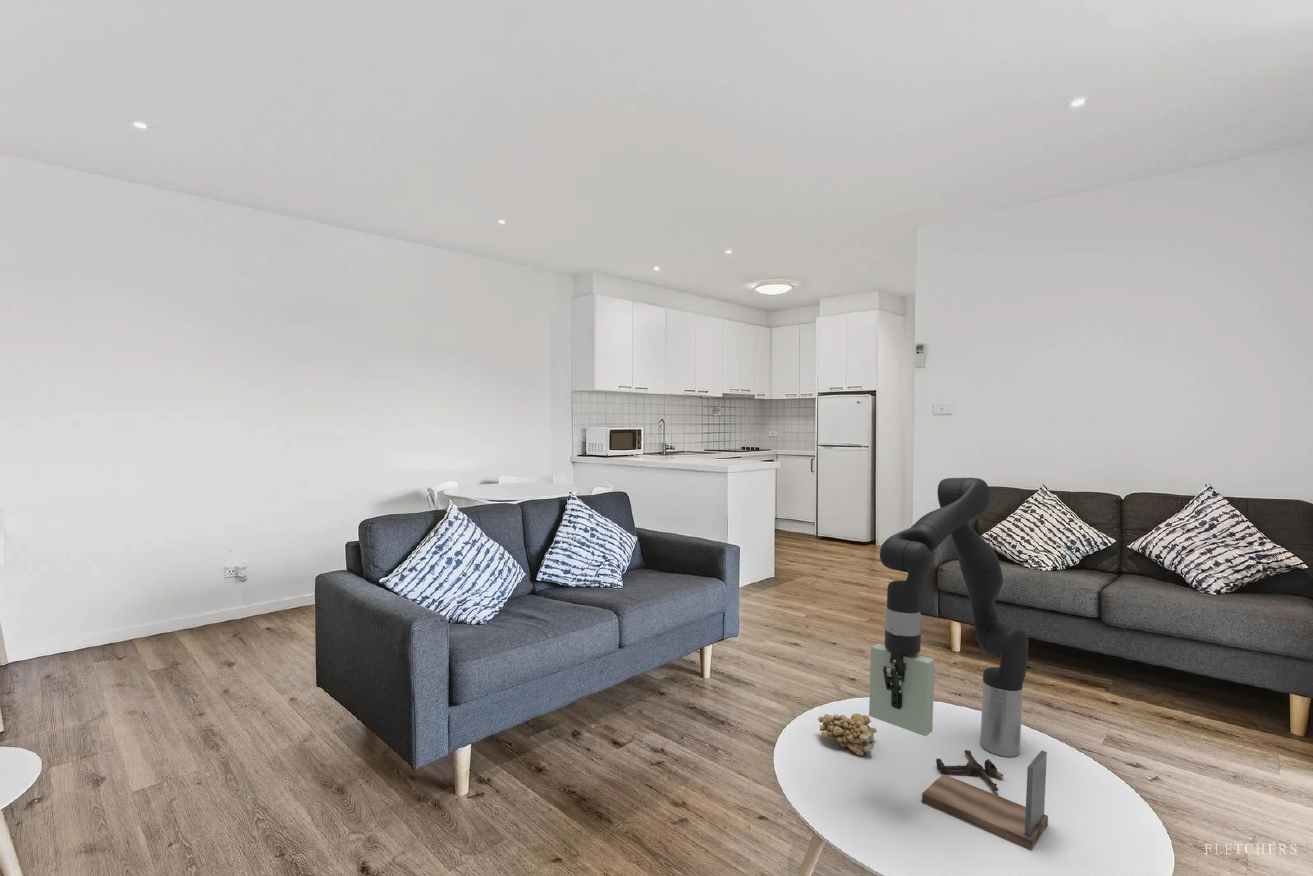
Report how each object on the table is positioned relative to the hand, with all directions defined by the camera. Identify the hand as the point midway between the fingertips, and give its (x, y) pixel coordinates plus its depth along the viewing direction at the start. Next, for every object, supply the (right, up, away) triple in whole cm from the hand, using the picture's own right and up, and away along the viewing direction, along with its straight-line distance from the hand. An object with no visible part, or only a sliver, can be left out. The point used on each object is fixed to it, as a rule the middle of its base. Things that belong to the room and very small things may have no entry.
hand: (900, 704), depth 144 cm
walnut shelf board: (+17, -23, -3) cm, 29 cm away
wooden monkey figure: (+22, -23, +13) cm, 34 cm away
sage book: (0, -4, 0) cm, 4 cm away
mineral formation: (-4, -22, +27) cm, 35 cm away
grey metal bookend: (+24, -21, -10) cm, 34 cm away
